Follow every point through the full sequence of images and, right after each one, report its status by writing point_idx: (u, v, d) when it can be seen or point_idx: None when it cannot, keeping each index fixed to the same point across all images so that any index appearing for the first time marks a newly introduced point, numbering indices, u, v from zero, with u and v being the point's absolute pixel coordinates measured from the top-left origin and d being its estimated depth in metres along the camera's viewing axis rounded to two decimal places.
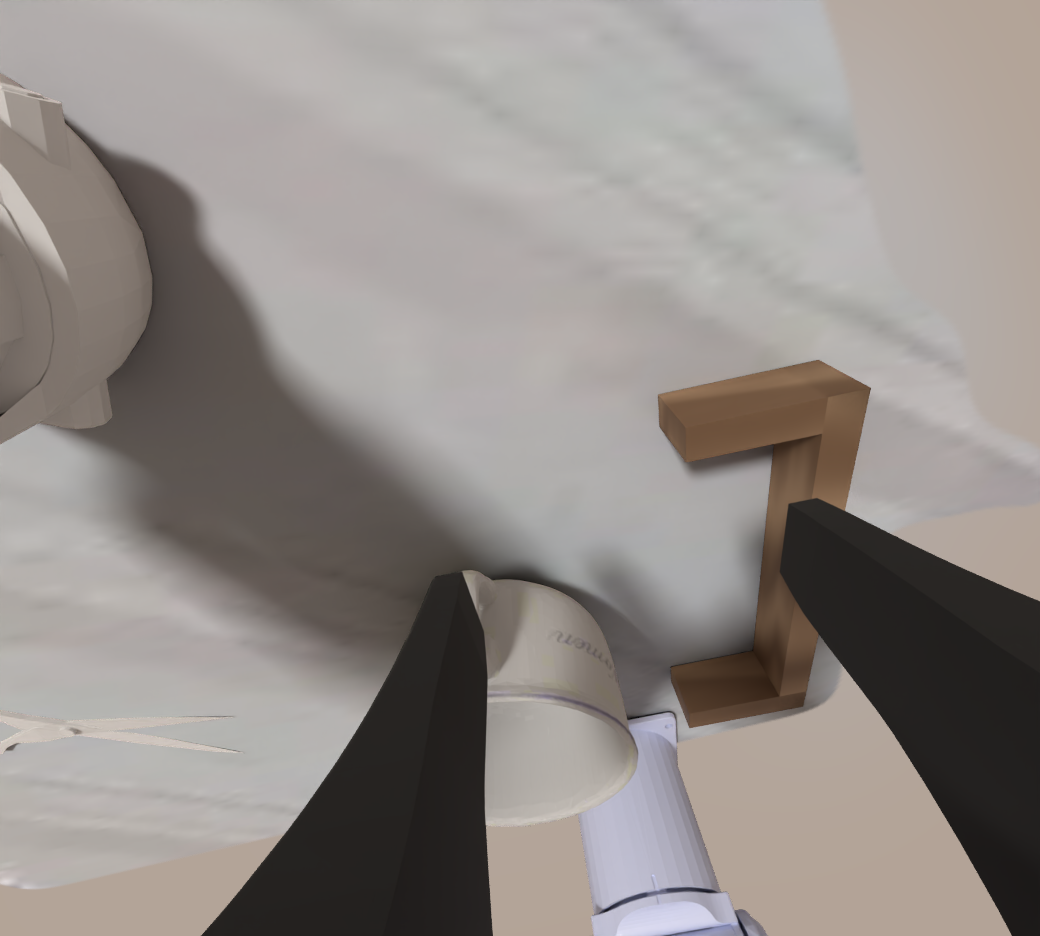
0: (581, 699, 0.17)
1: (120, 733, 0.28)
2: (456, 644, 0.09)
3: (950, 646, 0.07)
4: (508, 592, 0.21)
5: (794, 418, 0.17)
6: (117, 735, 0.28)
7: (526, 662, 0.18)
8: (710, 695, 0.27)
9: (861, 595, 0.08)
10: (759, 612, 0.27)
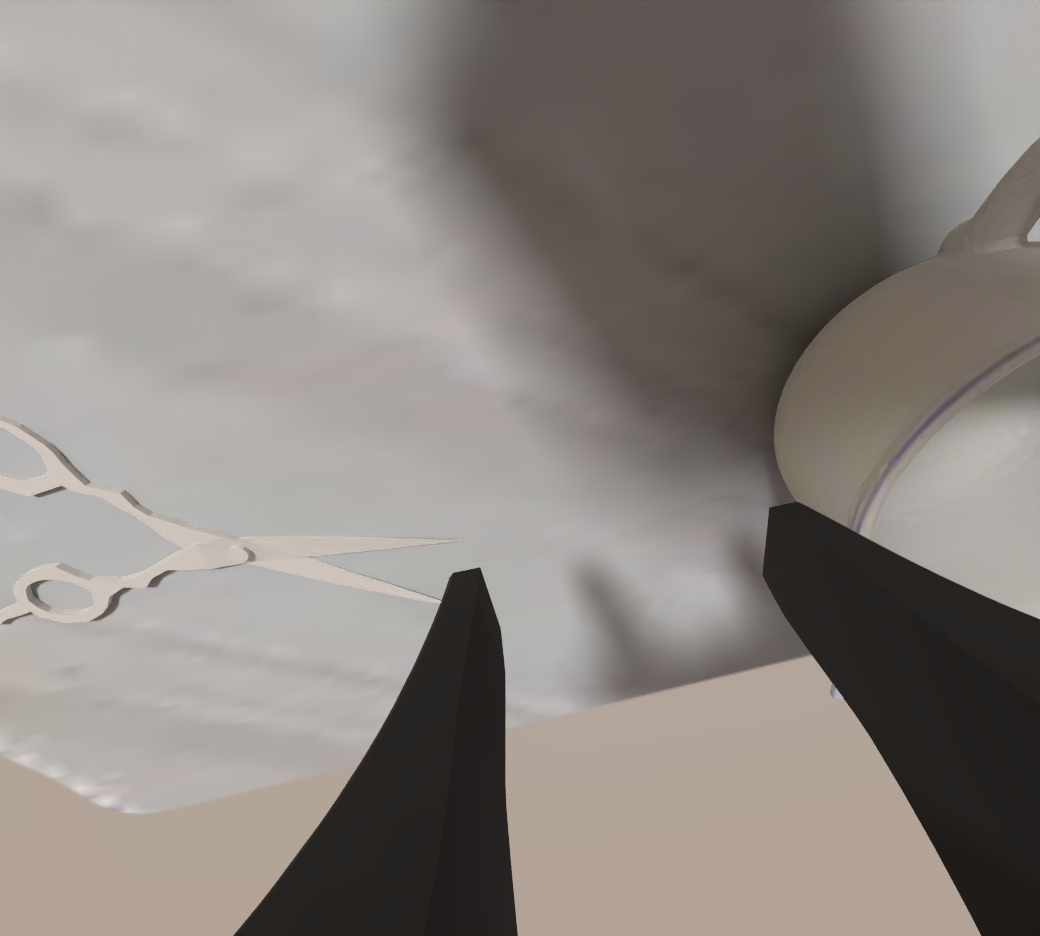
0: None
1: (305, 563, 0.21)
2: (477, 640, 0.09)
3: (922, 652, 0.07)
4: None
5: None
6: (300, 567, 0.21)
7: None
8: None
9: (838, 600, 0.08)
10: None
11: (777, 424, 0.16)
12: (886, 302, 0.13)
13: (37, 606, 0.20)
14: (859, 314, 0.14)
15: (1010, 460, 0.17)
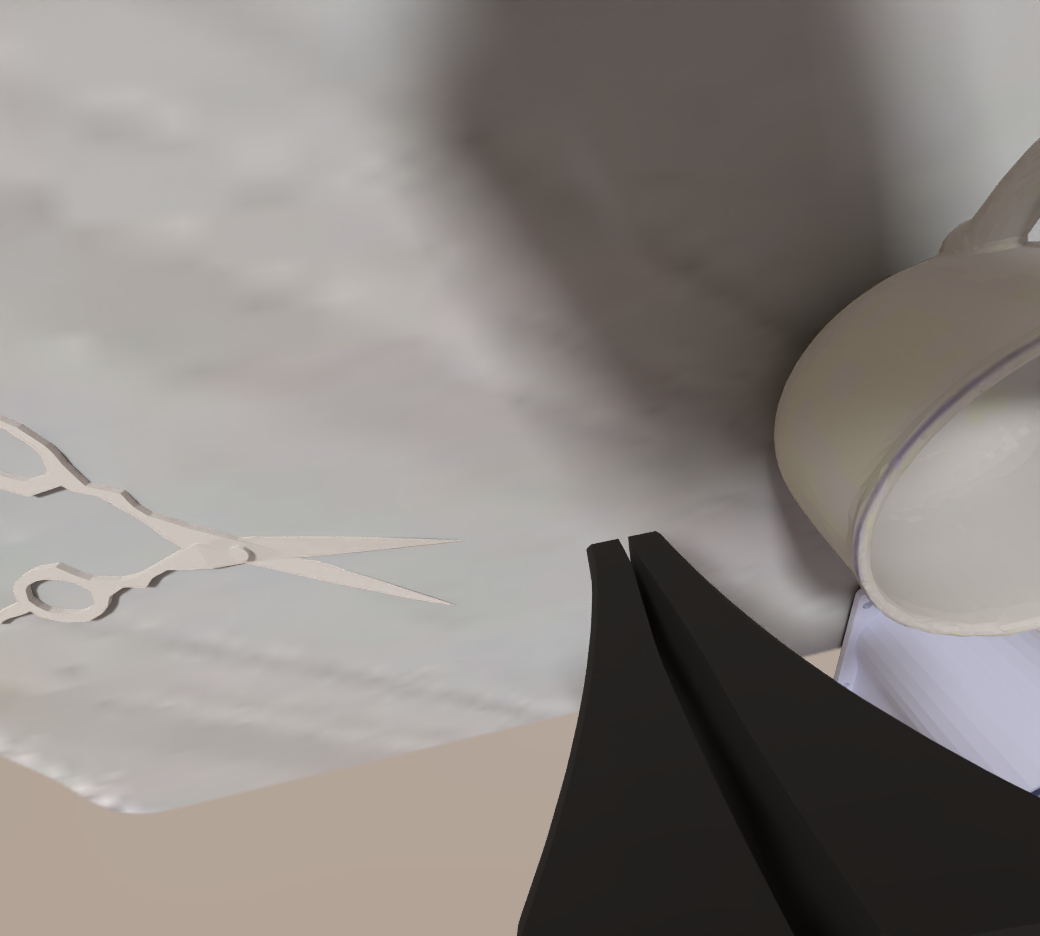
0: None
1: (305, 563, 0.21)
2: None
3: (711, 692, 0.07)
4: None
5: None
6: (300, 566, 0.21)
7: None
8: None
9: (669, 633, 0.08)
10: None
11: (777, 424, 0.16)
12: (886, 302, 0.13)
13: (36, 606, 0.20)
14: (859, 314, 0.14)
15: (1010, 460, 0.17)
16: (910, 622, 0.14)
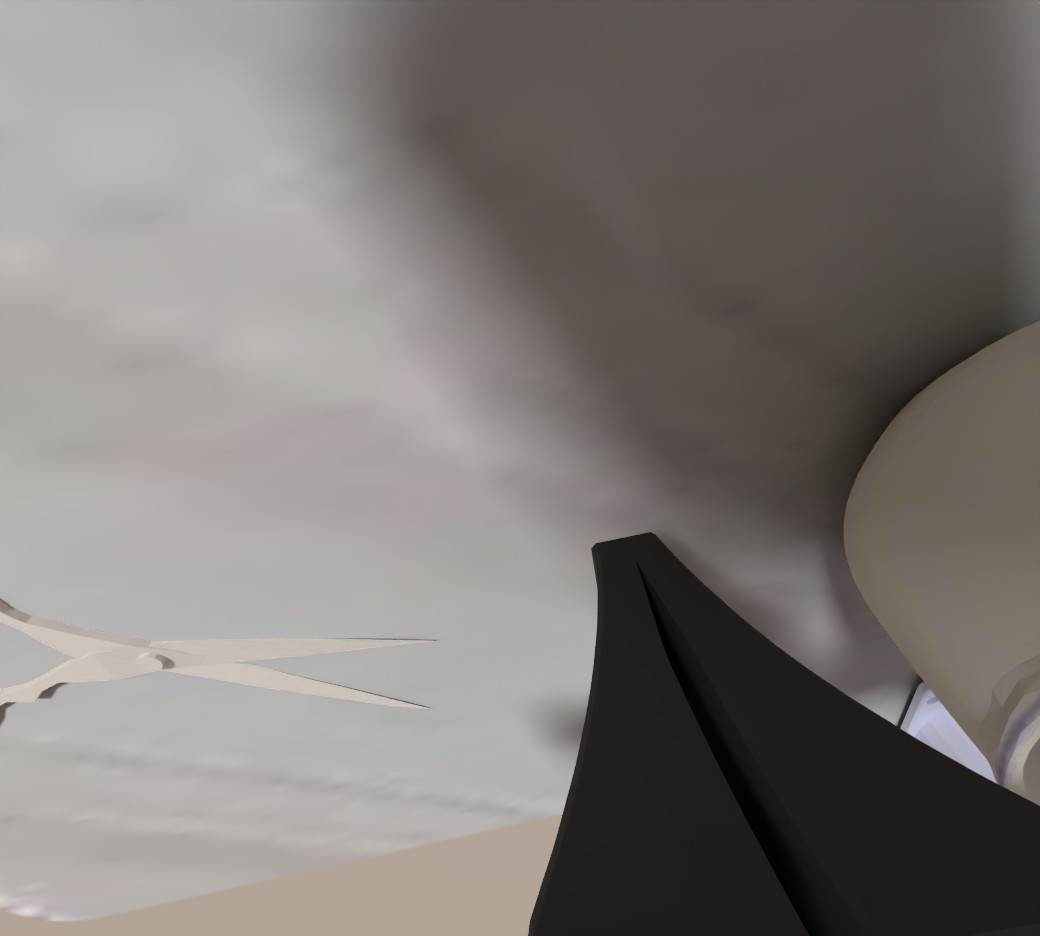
0: None
1: (238, 669, 0.16)
2: None
3: (704, 694, 0.07)
4: None
5: None
6: (233, 672, 0.16)
7: None
8: None
9: (663, 634, 0.08)
10: None
11: (854, 518, 0.12)
12: None
13: None
14: (993, 384, 0.10)
15: None
16: None
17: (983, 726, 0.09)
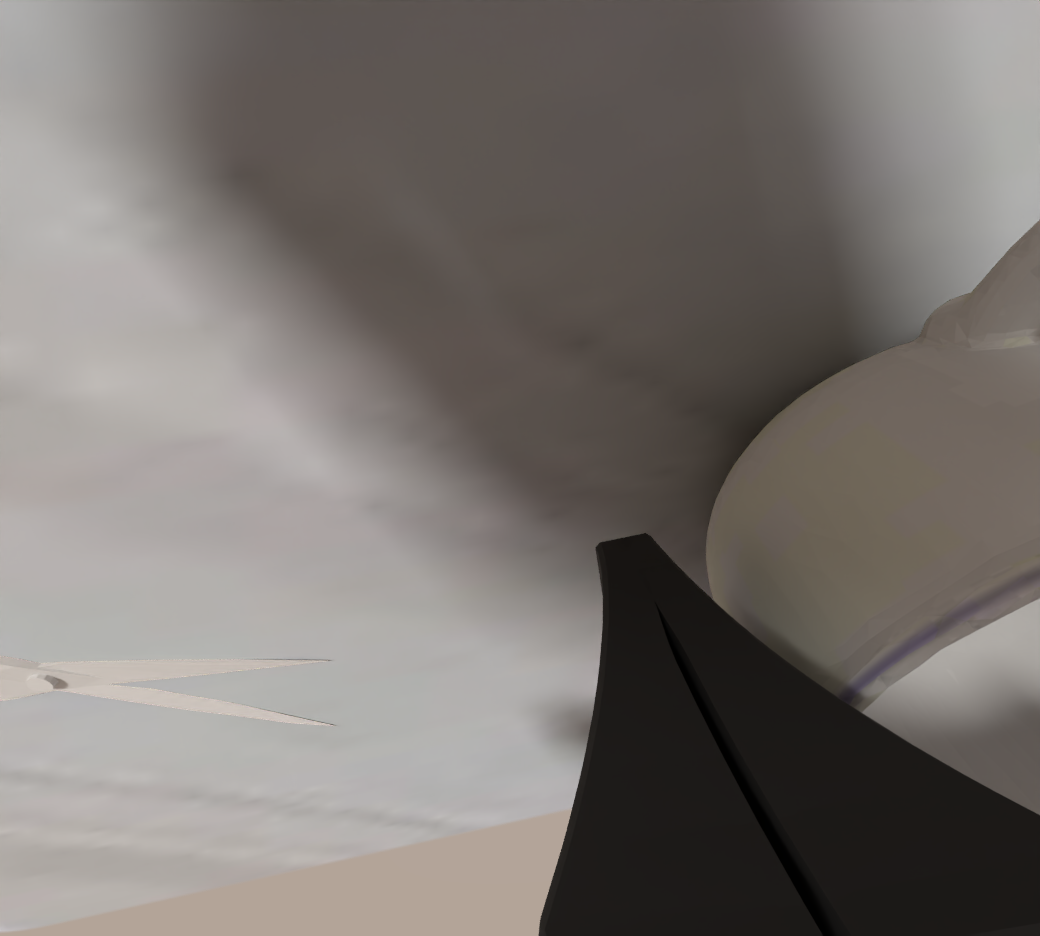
0: None
1: (134, 688, 0.16)
2: None
3: (696, 695, 0.07)
4: None
5: None
6: (129, 692, 0.17)
7: None
8: None
9: None
10: None
11: (707, 549, 0.12)
12: (843, 414, 0.09)
13: None
14: (806, 424, 0.10)
15: None
16: None
17: None
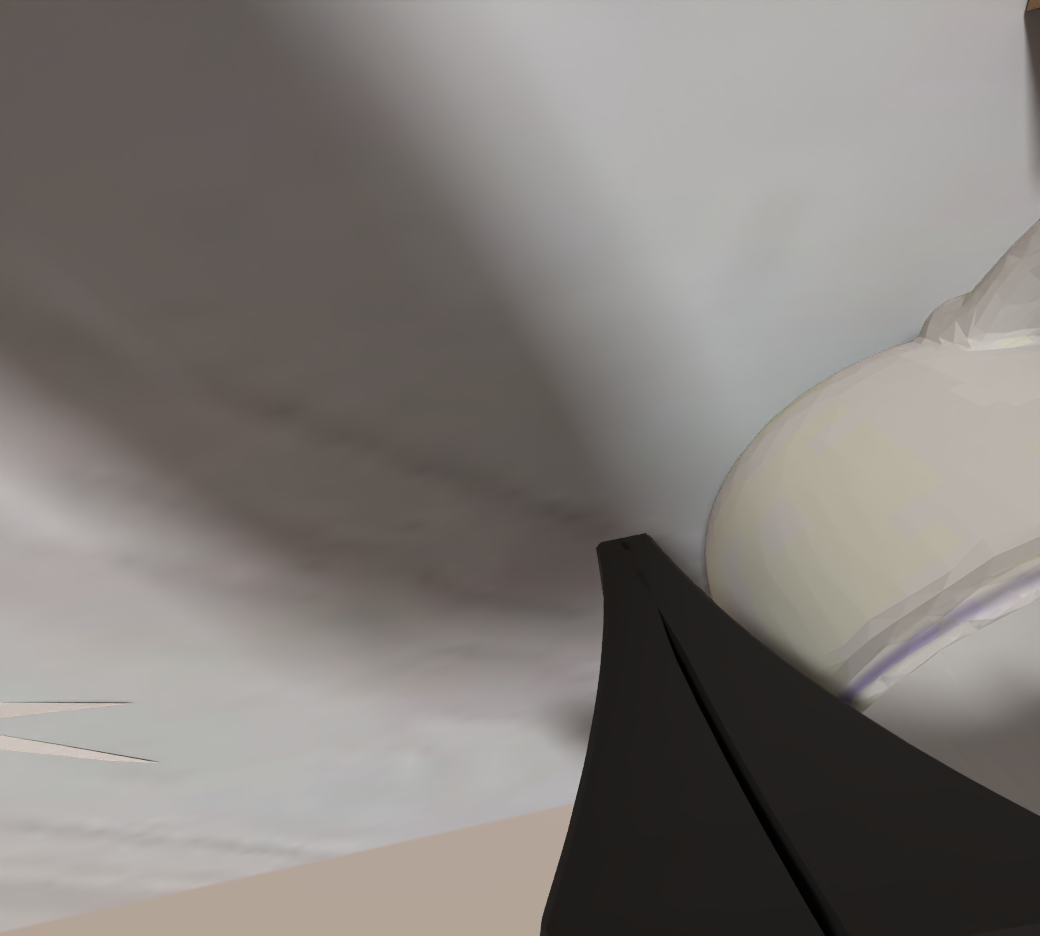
0: None
1: None
2: None
3: (696, 695, 0.07)
4: None
5: None
6: None
7: None
8: None
9: None
10: None
11: (706, 549, 0.12)
12: (842, 414, 0.09)
13: None
14: (806, 424, 0.10)
15: None
16: None
17: None
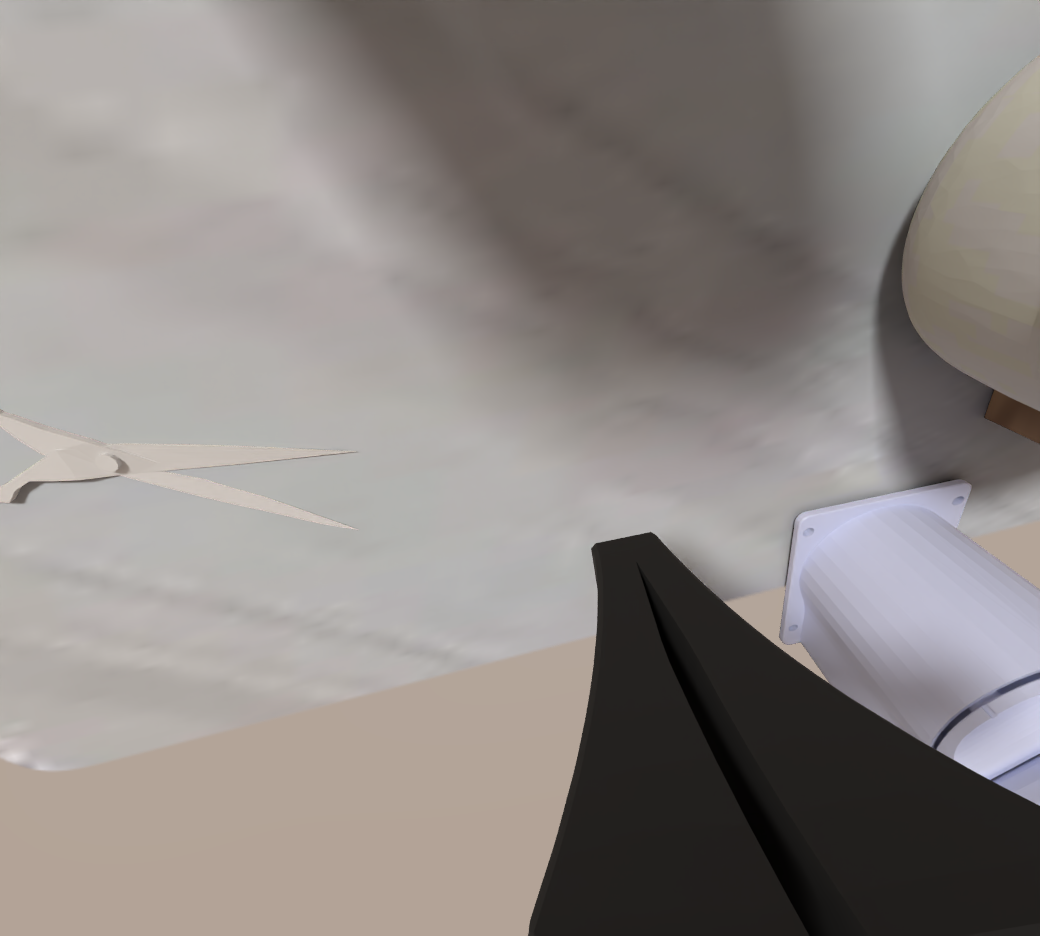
0: None
1: (185, 477, 0.19)
2: None
3: (704, 694, 0.07)
4: None
5: None
6: (181, 481, 0.19)
7: None
8: None
9: (663, 634, 0.08)
10: None
11: (915, 236, 0.14)
12: None
13: None
14: None
15: None
16: None
17: (1035, 326, 0.11)
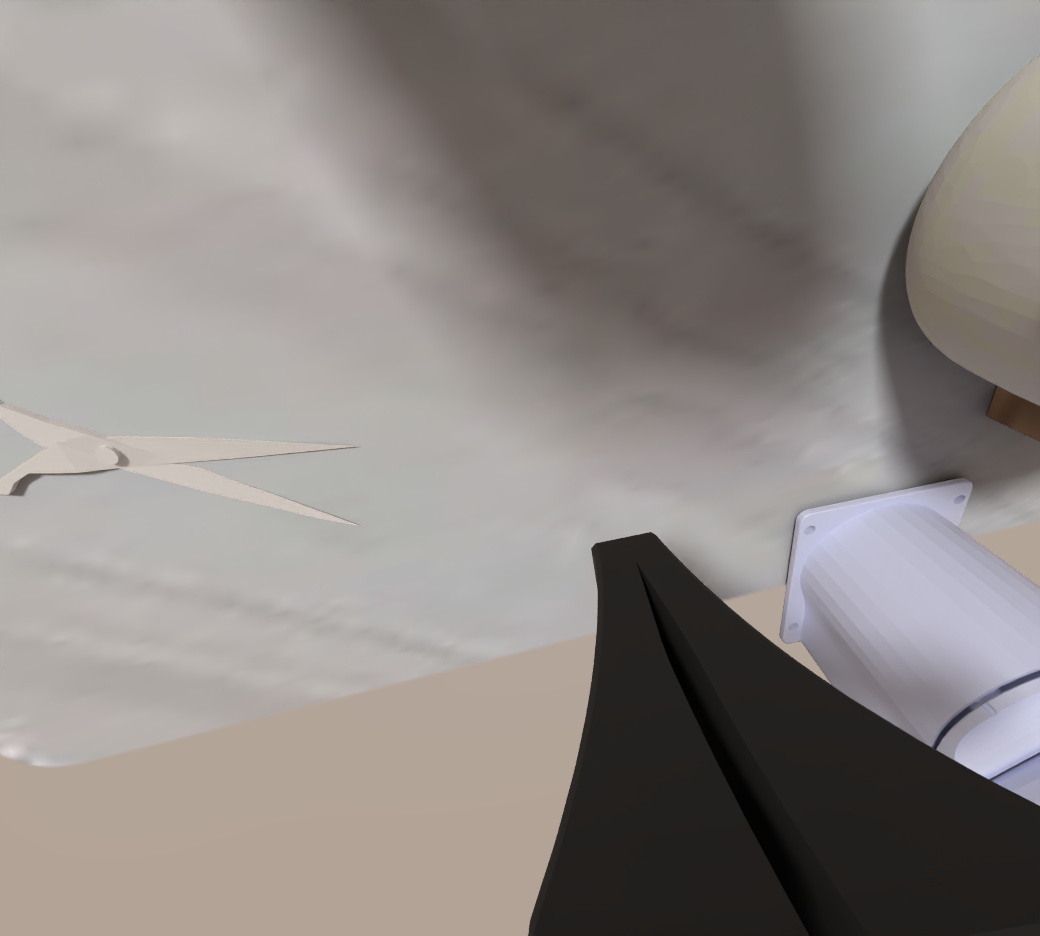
0: None
1: (185, 470, 0.19)
2: None
3: (704, 694, 0.07)
4: None
5: None
6: (181, 474, 0.19)
7: None
8: None
9: (663, 634, 0.08)
10: None
11: (920, 231, 0.14)
12: None
13: None
14: None
15: None
16: None
17: None
